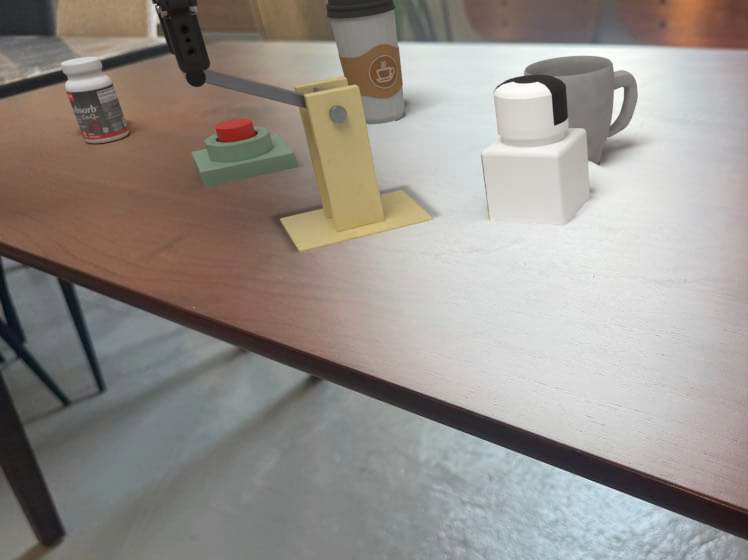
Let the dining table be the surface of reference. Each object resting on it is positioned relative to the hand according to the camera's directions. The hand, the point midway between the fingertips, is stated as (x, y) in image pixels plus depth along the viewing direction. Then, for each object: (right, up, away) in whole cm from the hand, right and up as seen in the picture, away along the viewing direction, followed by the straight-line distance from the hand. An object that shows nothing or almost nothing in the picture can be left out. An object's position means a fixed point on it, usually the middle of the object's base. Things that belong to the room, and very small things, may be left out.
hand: (190, 61), depth 67 cm
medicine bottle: (+27, -10, +11) cm, 31 cm away
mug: (+32, -1, +23) cm, 40 cm away
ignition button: (-6, +3, +28) cm, 29 cm away
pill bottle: (-31, +9, +49) cm, 58 cm away
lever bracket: (+10, -11, +12) cm, 19 cm away
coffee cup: (+7, +10, +45) cm, 47 cm away
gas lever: (+5, -2, +4) cm, 6 cm away
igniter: (-6, 0, +30) cm, 31 cm away
